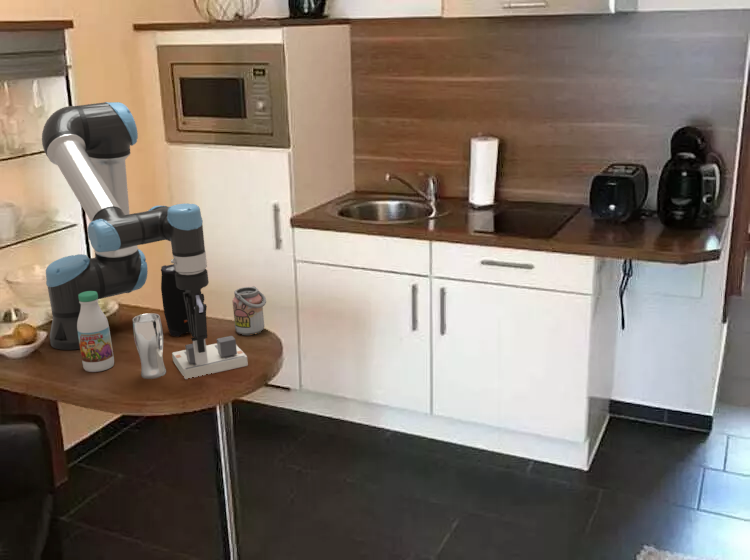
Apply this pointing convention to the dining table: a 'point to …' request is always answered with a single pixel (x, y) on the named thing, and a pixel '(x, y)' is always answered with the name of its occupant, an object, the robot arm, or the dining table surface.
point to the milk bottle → (94, 334)
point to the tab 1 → (190, 353)
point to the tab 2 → (226, 346)
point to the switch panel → (209, 362)
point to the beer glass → (149, 344)
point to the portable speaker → (173, 303)
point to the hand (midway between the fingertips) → (201, 362)
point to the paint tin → (248, 310)
